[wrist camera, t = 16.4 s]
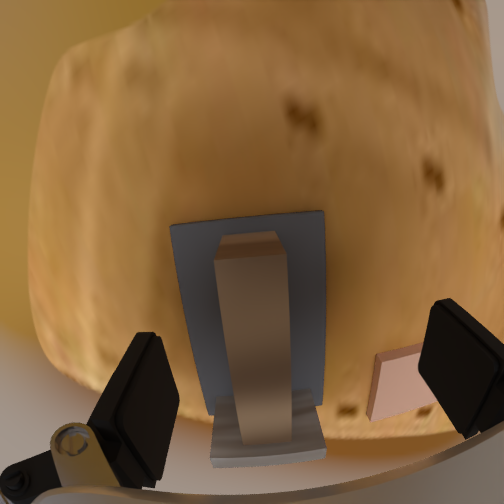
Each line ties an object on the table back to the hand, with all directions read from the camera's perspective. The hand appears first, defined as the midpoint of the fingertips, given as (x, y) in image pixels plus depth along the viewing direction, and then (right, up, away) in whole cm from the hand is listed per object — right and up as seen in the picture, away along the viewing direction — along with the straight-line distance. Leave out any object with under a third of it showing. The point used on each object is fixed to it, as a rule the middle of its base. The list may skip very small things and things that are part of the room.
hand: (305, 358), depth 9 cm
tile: (+12, -4, +11) cm, 17 cm away
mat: (-1, -2, +10) cm, 11 cm away
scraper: (-1, -1, +9) cm, 10 cm away
